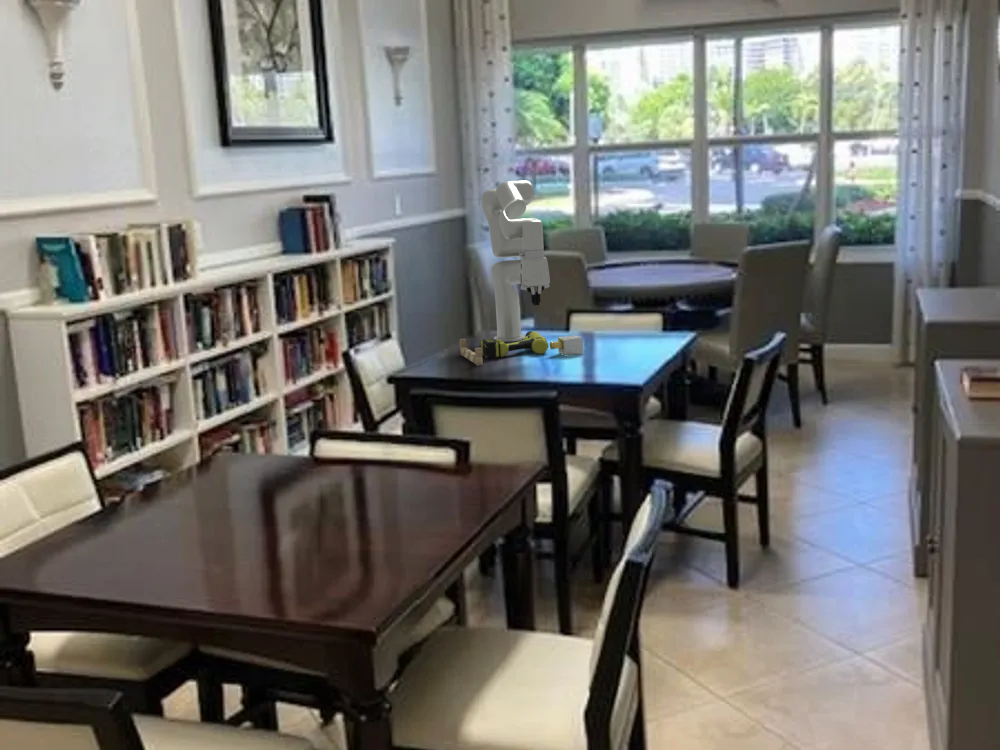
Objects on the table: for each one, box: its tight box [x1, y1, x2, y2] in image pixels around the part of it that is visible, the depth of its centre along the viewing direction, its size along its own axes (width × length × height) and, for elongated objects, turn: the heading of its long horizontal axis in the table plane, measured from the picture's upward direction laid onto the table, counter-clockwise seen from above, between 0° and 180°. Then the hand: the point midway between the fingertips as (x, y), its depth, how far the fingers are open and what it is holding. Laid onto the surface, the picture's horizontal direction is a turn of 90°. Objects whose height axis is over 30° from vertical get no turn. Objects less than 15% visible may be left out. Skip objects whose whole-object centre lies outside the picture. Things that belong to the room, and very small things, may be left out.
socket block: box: [557, 334, 584, 356], centre depth 382 cm, size 7×7×6 cm
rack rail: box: [459, 338, 484, 367], centre depth 382 cm, size 24×2×6 cm, turn 16°
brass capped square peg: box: [549, 340, 563, 350], centre depth 382 cm, size 3×10×3 cm, turn 106°
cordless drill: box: [479, 330, 549, 361], centre depth 394 cm, size 7×25×25 cm
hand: (536, 304), depth 381 cm, fingers closed
